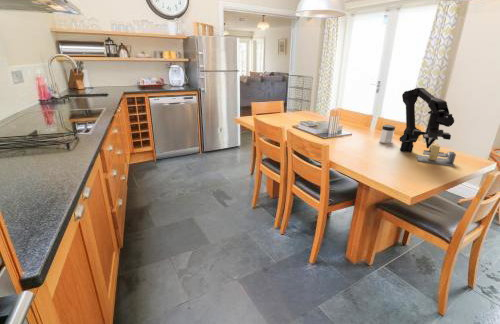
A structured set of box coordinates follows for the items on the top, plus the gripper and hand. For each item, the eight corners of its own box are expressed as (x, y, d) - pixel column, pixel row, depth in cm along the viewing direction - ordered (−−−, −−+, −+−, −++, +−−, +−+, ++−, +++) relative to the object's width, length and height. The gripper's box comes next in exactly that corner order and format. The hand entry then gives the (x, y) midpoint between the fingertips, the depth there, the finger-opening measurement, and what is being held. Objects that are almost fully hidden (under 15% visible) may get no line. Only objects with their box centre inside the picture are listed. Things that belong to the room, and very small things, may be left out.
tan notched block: (428, 159, 164) (432, 145, 161) (427, 156, 169) (430, 143, 166) (436, 160, 162) (440, 146, 159) (434, 157, 167) (438, 144, 164)
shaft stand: (417, 161, 165) (420, 151, 162) (416, 156, 173) (418, 146, 171) (453, 166, 158) (456, 155, 155) (450, 160, 166) (453, 150, 164)
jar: (394, 142, 200) (398, 126, 196) (387, 144, 197) (390, 127, 192) (384, 139, 207) (387, 124, 203) (376, 140, 204) (379, 125, 200)
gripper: (416, 123, 156) (410, 149, 162) (456, 127, 149) (448, 154, 154) (415, 119, 165) (409, 144, 171) (452, 123, 158) (444, 149, 164)
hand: (427, 148), depth 165 cm, fingers closed
